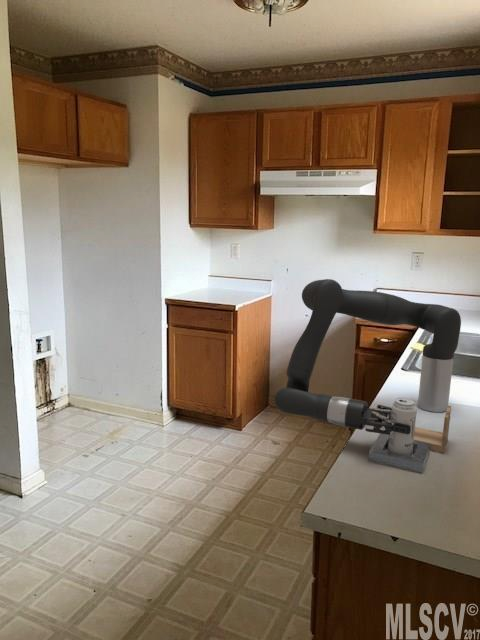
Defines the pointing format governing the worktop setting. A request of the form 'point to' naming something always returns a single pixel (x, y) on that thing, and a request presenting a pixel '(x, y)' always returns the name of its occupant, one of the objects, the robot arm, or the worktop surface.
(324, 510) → the worktop surface
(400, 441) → the energy drink can
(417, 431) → the wooden l-shaped stand
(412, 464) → the socket block
